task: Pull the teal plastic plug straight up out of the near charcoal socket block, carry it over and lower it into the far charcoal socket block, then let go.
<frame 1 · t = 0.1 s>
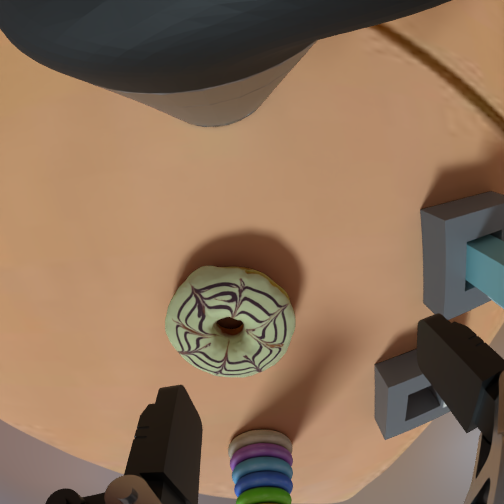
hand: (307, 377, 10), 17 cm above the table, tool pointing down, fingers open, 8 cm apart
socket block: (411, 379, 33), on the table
decorated donut: (230, 311, 29), on the table
plug: (490, 268, 23), in the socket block
stacking toy: (259, 443, 35), on the table
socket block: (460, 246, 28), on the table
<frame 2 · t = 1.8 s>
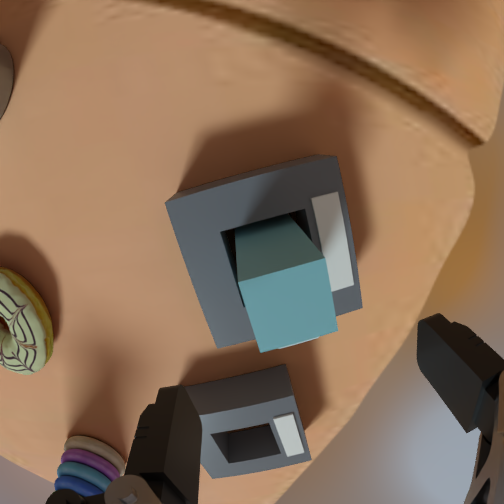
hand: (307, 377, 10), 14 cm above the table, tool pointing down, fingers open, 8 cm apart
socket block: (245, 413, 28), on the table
decorated donut: (16, 310, 24), on the table
plug: (277, 272, 18), in the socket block
stacking toy: (96, 451, 30), on the table
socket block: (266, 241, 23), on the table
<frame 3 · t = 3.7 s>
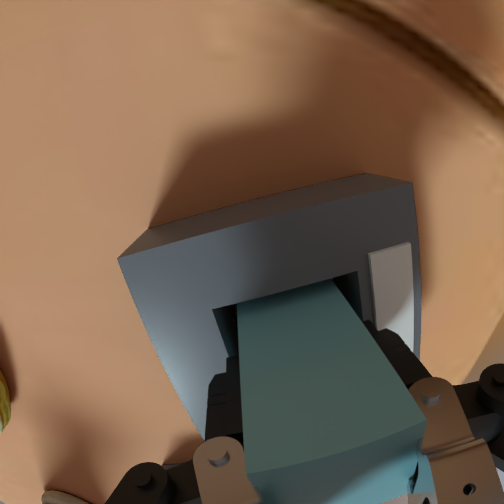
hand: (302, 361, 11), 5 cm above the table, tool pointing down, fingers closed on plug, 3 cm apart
plug: (306, 374, 10), in the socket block, touching gripper
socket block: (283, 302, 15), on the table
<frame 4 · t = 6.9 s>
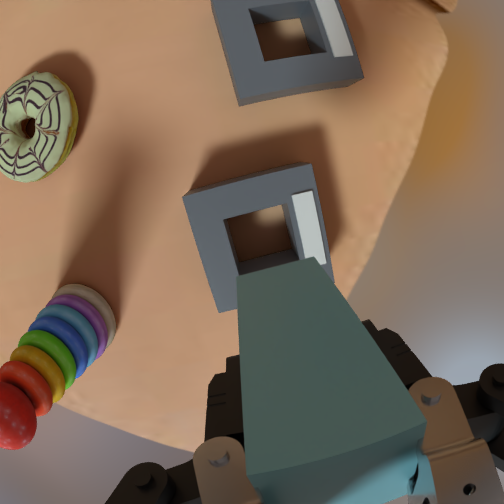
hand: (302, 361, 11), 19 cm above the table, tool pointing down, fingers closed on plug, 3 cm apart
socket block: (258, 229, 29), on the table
decorated donut: (41, 127, 25), on the table
plug: (307, 375, 10), point 20 cm above the table, touching gripper
stacking toy: (85, 314, 31), on the table
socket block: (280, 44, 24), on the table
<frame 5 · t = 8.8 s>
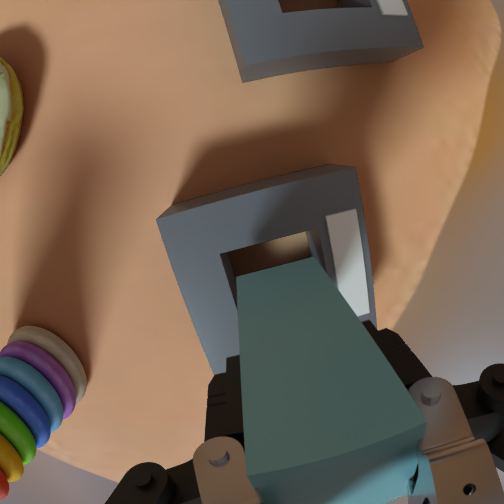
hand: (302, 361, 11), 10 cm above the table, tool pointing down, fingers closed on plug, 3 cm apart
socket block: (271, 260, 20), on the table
plug: (307, 375, 10), point 11 cm above the table, touching gripper
stacking toy: (50, 360, 22), on the table
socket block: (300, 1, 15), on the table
when the fingers open (6 cm above the table, at t = 10.2 s): plug drops 2 cm, resting in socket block.
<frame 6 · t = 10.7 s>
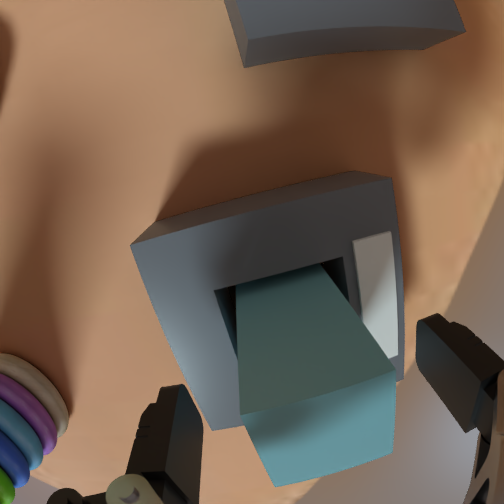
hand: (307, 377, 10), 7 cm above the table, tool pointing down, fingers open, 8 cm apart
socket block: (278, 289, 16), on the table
plug: (298, 347, 12), in the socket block
stacking toy: (29, 390, 18), on the table
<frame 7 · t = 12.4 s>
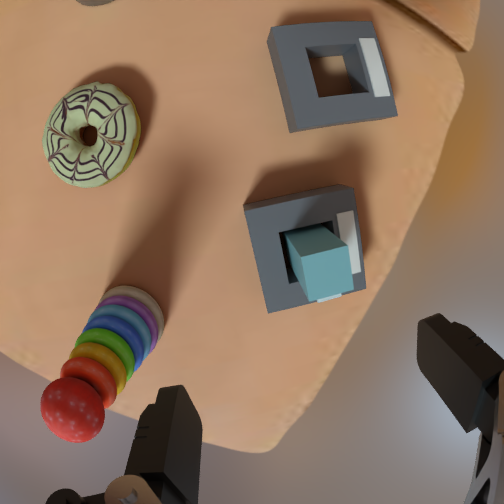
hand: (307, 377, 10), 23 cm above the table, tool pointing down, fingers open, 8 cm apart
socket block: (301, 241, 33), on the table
decorated donut: (97, 135, 29), on the table
plug: (313, 258, 28), in the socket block
stacking toy: (132, 314, 34), on the table
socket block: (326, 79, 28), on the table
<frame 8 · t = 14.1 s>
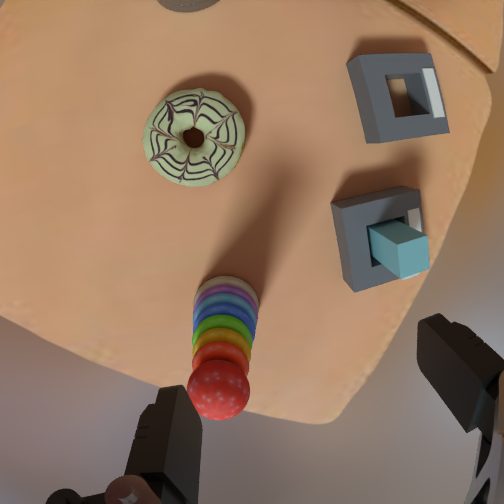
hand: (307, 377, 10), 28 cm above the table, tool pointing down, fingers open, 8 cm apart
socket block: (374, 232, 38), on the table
decorated donut: (196, 137, 34), on the table
plug: (392, 246, 33), in the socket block
stacking toy: (226, 302, 40), on the table
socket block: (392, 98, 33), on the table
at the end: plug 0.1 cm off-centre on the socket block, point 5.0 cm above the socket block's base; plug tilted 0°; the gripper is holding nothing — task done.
